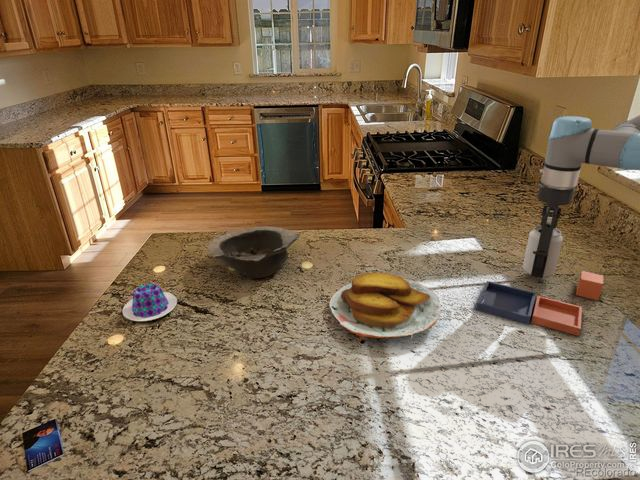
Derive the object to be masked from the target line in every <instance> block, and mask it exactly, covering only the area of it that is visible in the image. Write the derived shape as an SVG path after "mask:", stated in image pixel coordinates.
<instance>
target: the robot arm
mask: <svg viewBox="0 0 640 480" xmlns="http://www.w3.org/2000/svg"><path fill="white" fill-rule="evenodd" d="M592 123H593V122H592V120H591V119H590V118H588V117H582V116H575V115H573V116H572V115H567V116H566V115H565V116H560V117H557V118H555V120H554V121H553V124H552V127H551V130H550V134H549V137H548V143H547V148H546V153H545V159H544V163H543V168H541V169H539V173H540V174H542V175H541V178H540V182H541V183H540V184H539V186H538V191H537V195H536V196H537V197H536V198H537V199H538V201H540V202H541V203H545V204H544V205H543V207H542V210H541V221H540V226H542V229H541V234H540V238H539V243H538V247H537V251H533V254H535V259H534V263H533V268H532V272H531V275H530V277H532V278H536V279H537V278H538V279H541V280H542V279H543V274H544V270H545V266H546V262H547V257H548V250H549V246H550V242H551V238H552V233H553V229H554V228H557V226H558V222H559V218H560V217H561V214H562V210H563V207H561V206H568V205H571V204H572V203H573V200H574V197H575V193H576V188H575V187H576V186H577V185H578V182H579V178H580V173H581V169H582V164H586V165H594V166H600V167H607V168H615V169H621V170H624V171H629V170H630V171H640V114H638V115H636V116H635V117H633V118H630V119H629V120H625V121H622V122H621V123H619V124H617V125H615V126H614V127H613V129H599V128H594V127H593V125H592Z"/></svg>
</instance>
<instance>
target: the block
mask: <svg viewBox="0 0 640 480" xmlns="http://www.w3.org/2000/svg"><path fill="white" fill-rule="evenodd" d="M603 287H604V274H603V275H602V274H599V273H593V272H589V271H585V270H581V272H580V275H579V279H578V282H577V285H576V293H575V295H576V296H577V297H581V298H585V299H586V298H587V299H590V300H593V301H599V299H600V296H601V293H602V290H603Z"/></svg>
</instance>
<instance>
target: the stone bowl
mask: <svg viewBox="0 0 640 480" xmlns="http://www.w3.org/2000/svg"><path fill="white" fill-rule="evenodd" d="M300 236H301V233H300V232H299V233H297V232H296V233H294V231H293V230H290V229H286V228H282V227H279V226H278V227H277V226H267V225H262V226H254V227H253V226H252V227H247V228H243V229H238V230H237V229H236V230H233V231H228V232H227V233H225V234H221V235H219V236H216V237H215V238H213V239H212V240H211V241H210V242H209V243H208V244H207V245H206V250H207V252H208V253H209V254H210V255H211V257H213V258H217V259H221V261H222V262H223V263H224V264H225V265H226V266H227V267H229V268H230V269H233V270H234V271H236V272H237V273H240V274H245V277H246V278H247V280H256V279H262V278H267V277H269V276H271V275H272V274H276V273H278V272H279V271H280V270H282V267H283V264H284V263H286V261H287V259H288V251H287V249H288V248H289V247H291V245H292V244H294V243H295V242H297V240H298V239H299V238H300Z"/></svg>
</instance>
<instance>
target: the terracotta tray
mask: <svg viewBox="0 0 640 480" xmlns="http://www.w3.org/2000/svg"><path fill="white" fill-rule="evenodd" d="M534 304H535V305H534V307H533V308H534V309H533V311H532V312H533V313H532V317H531V321H530V322H531V324H534V325H538V326H542V327H545V328H549V329H553V330H557V331H560V332H563V333H567V334H570V335H574V336H577V337H579V336H580V333H581V330H582V318H583V306H579V305H577V304H572V303H570V302H569V303H568V302H565V301H561V300H556V299H554V298H553V299H552V298H549V297H545V296H541V295H537V297H536V300H535V303H534Z"/></svg>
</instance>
